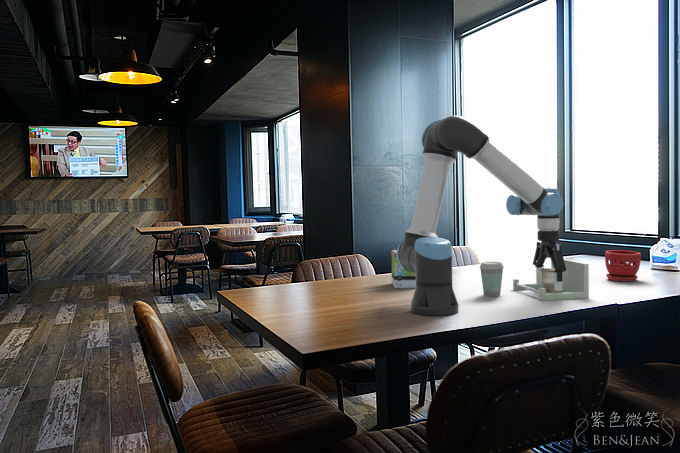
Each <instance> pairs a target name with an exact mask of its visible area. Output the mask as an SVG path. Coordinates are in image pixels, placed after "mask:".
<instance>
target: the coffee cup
mask: <svg viewBox="0 0 680 453" xmlns="http://www.w3.org/2000/svg"><path fill="white" fill-rule="evenodd" d="M479 269H480V276H481V282H482V284H481V285H482V290H483V291H482V292H483V296H485V297H491V298H492V297H493V298H494V297H500V296H501V290H502V280H503V272H504V271H503V270H504V265H503V262H500V261H482V262H480V265H479Z"/></svg>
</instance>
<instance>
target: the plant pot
mask: <svg viewBox="0 0 680 453" xmlns="http://www.w3.org/2000/svg"><path fill="white" fill-rule="evenodd" d="M604 255H605V256H604V262H605V268H606V271H607V273H606V275H605V276H606V278H607V279H608V280H610V281H615V282H634V281H636V280H637V279H638V278H639V277H638V275H637V273H638V272H639V270H640V266H641V260H642V253H641V252H638V251H633V250H617V249H616V250H615V249H614V250H612V249H611V250H606V251H605V254H604Z"/></svg>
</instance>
